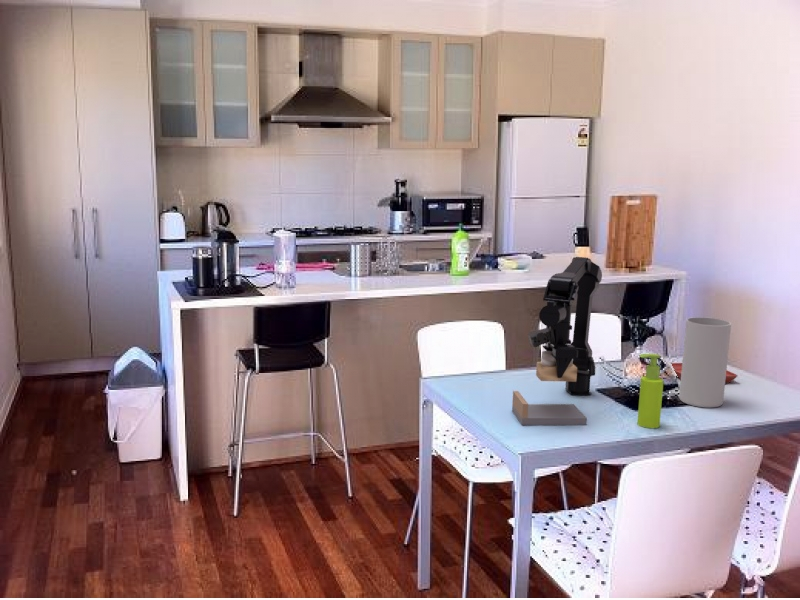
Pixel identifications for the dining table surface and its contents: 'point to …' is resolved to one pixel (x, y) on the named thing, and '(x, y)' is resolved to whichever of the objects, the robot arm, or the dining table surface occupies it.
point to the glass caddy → (554, 369)
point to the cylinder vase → (704, 361)
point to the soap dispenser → (650, 394)
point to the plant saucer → (678, 369)
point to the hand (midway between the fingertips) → (556, 374)
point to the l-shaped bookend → (546, 413)
